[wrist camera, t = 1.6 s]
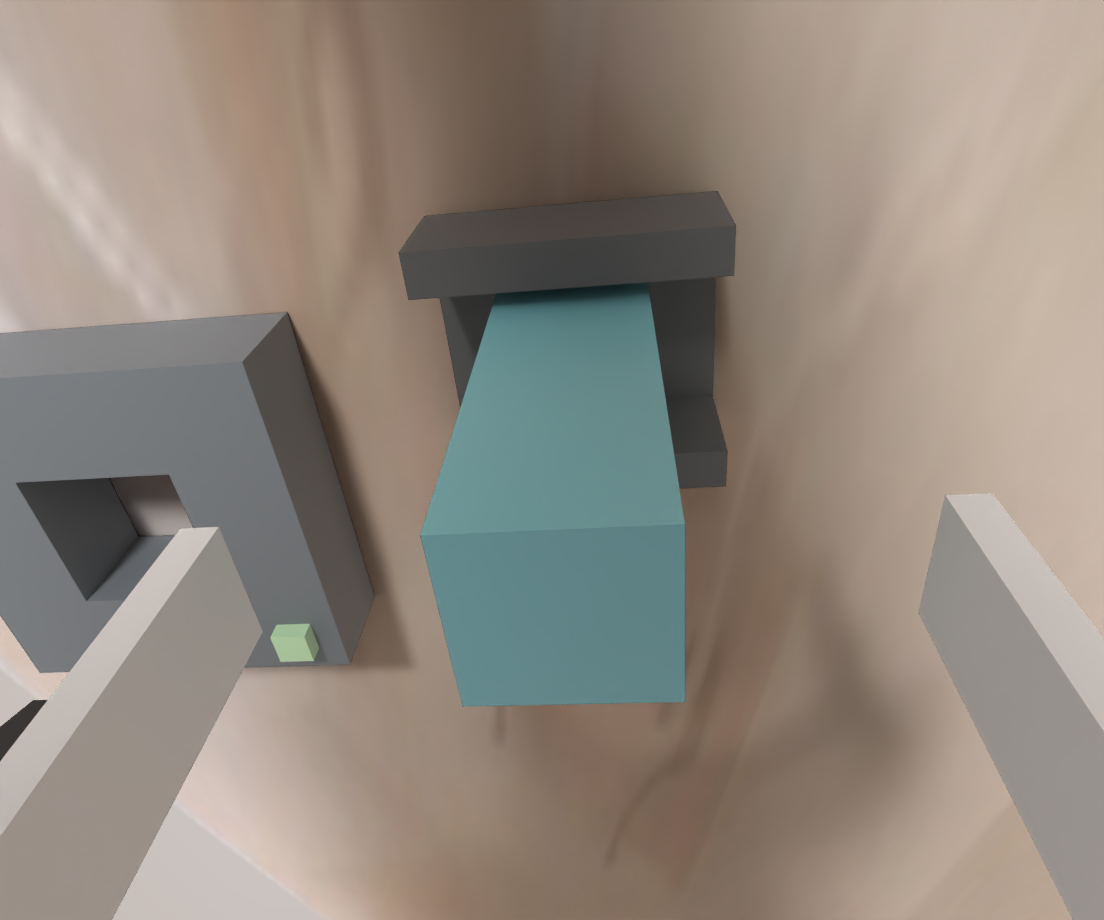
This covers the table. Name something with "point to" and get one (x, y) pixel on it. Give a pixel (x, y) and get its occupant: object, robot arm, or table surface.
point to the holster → (594, 260)
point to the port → (195, 470)
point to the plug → (562, 509)
